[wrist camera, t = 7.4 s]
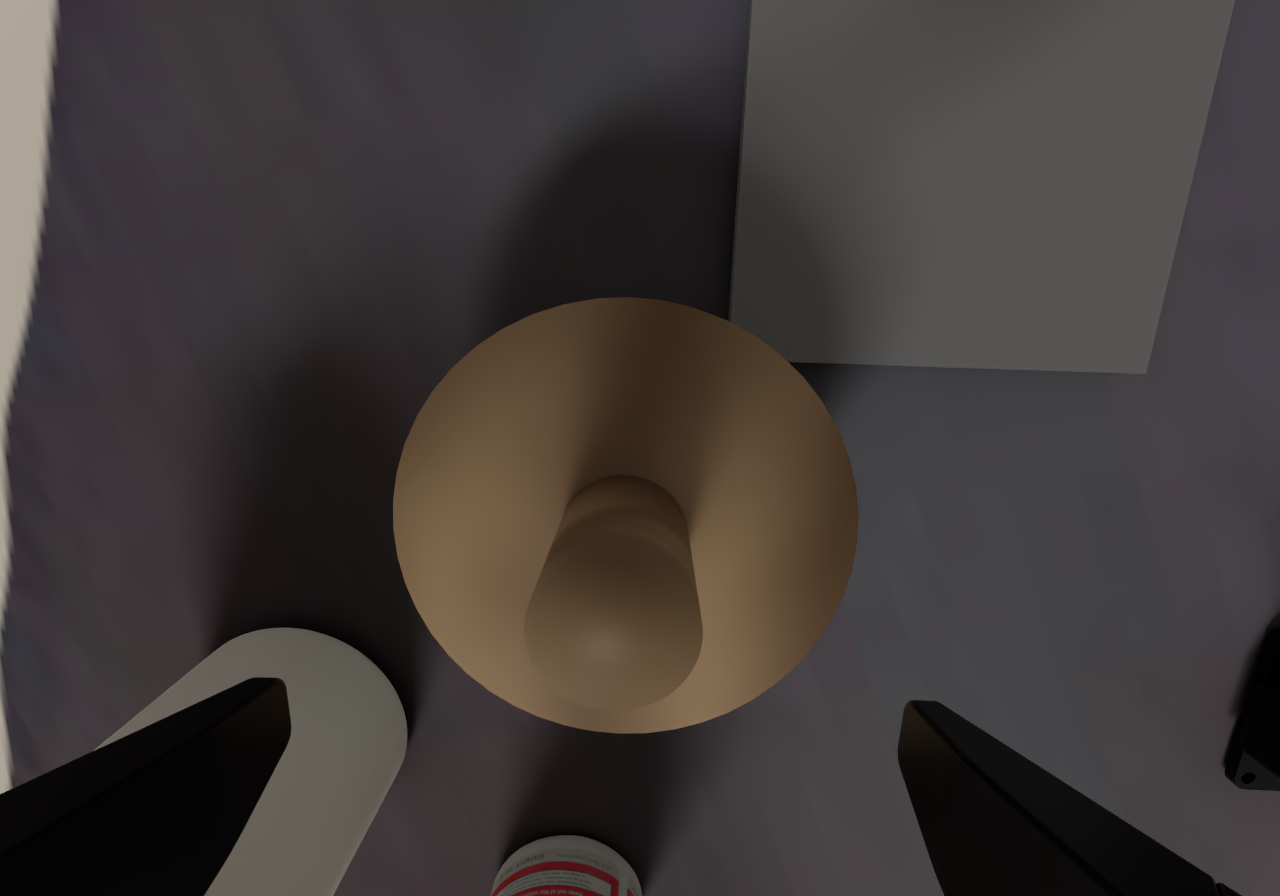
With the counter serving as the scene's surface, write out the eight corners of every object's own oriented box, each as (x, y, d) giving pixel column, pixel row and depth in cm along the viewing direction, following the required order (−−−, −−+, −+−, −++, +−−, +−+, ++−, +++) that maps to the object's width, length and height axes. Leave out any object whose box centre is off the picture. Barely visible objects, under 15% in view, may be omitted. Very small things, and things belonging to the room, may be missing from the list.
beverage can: (322, 579, 22) (-51, 904, 10) (456, 741, 23) (266, 1182, 12) (159, 682, 23) (-342, 1080, 11) (297, 830, 25) (-18, 1310, 13)
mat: (1243, -114, 16) (1266, -130, 16) (1131, 371, 20) (1146, 374, 19) (757, -127, 16) (761, -143, 16) (725, 358, 20) (728, 360, 19)
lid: (871, 303, 15) (995, 310, 9) (822, 716, 18) (897, 900, 12) (392, 290, 15) (247, 288, 9) (422, 702, 18) (322, 879, 12)
